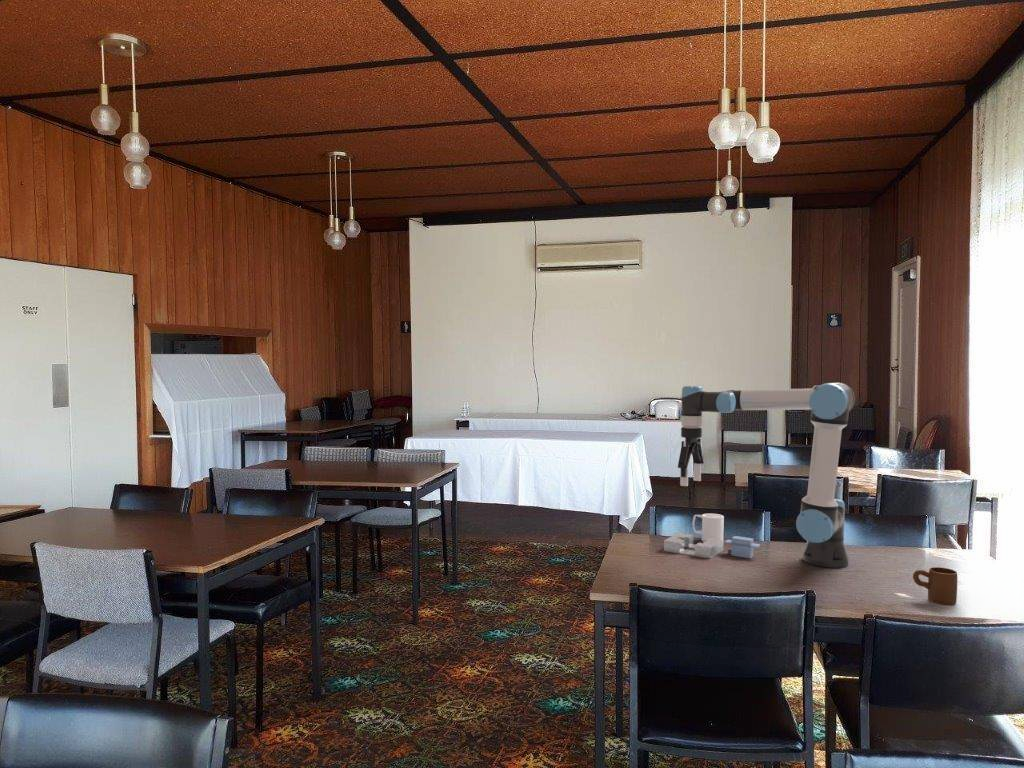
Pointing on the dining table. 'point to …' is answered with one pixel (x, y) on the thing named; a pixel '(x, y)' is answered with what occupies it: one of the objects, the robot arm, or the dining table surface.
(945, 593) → the mug
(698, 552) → the chassis
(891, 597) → the dining table surface
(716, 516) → the cup
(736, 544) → the servo
